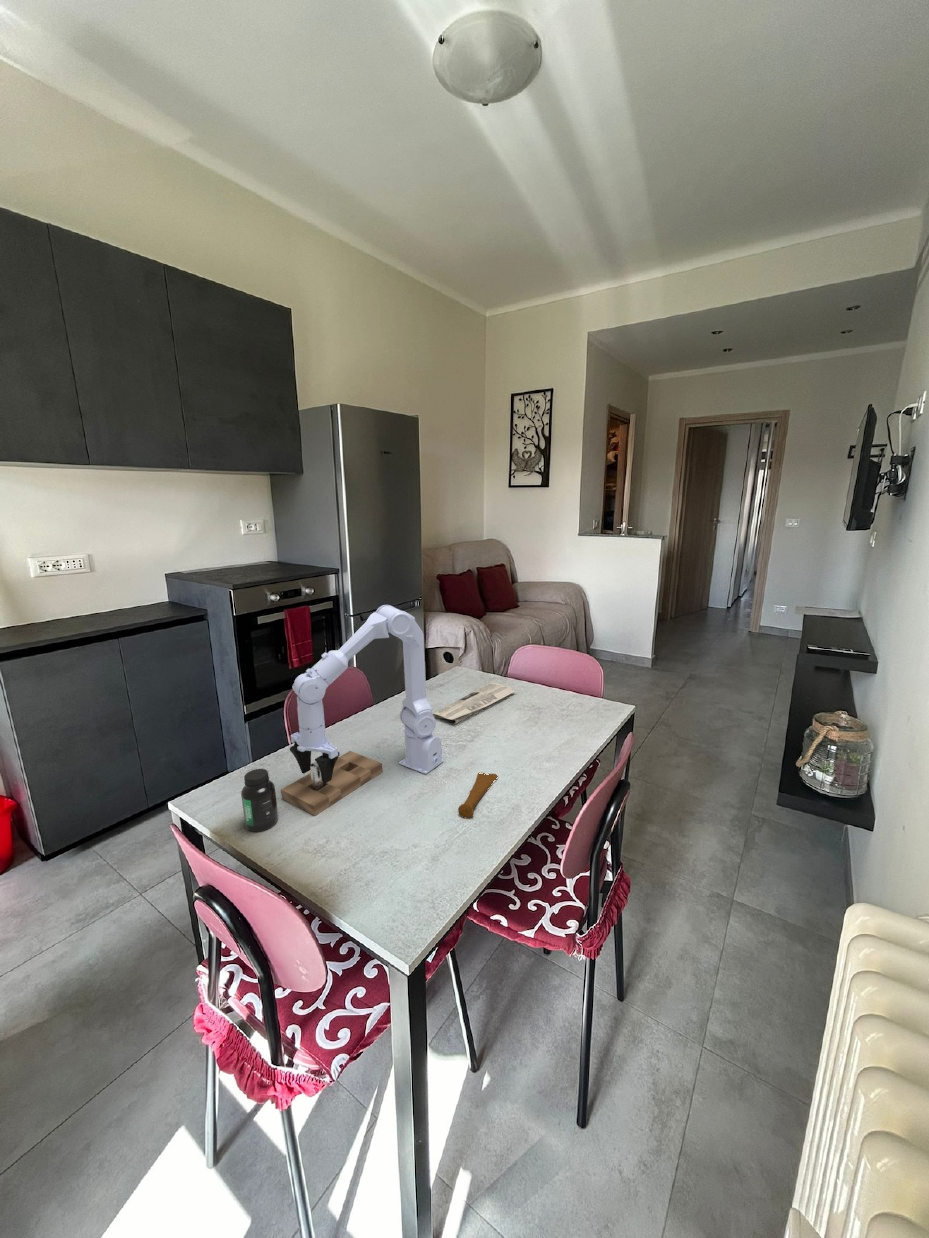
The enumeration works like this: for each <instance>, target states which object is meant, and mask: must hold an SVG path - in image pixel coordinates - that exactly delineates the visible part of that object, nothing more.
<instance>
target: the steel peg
mask: <svg viewBox="0 0 929 1238" xmlns="http://www.w3.org/2000/svg"><path fill="white" fill-rule="evenodd" d="M310 769H311V770H310V773H311V780H312V789H313V790H315V791H318V790H320V789H321V788H323V787H324V786H323V781H322V778H321V772H320V769H319V766H318V764H317V762H316V761H314V762H311V765H310Z"/></svg>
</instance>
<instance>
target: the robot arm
mask: <svg viewBox="0 0 929 1238" xmlns="http://www.w3.org/2000/svg"><path fill="white" fill-rule="evenodd" d="M359 627H360V628H358V630H356V632H354V633H353V635H352V636H350V638H349V639H348V640H347V641H346V642H345V643H344V644H343V645H342V646H341V647H340V648H339V649H338V650H337V649H335V650H333V649H332V650H329V651H328V652H325V651H324V653H322V654H321V658H320V660H319V661H318V662H316V663H315V664H314V665H313V666H312V667H311V668H307V669H306V670H305V672H304V673H301V674H300V675H298V676H297V677H295V680H294V681H293V682H294V683H293V684H292V690H293V692H294V694H295V695H297V696H296V703H297V707H296V711H297V718H298V719H297V720H298V730H299V732H298V731H297V732H295V733H292V734H291V735H290V740H291V741H290V743H292V744H293V745H292V746H290V747H289V751H290V752H291V754H292V755H293V756H294V758H295V760H296V761H297V764H298V767H299V770H300V771H301V773H302V774H303V775H304V774H306V773H308V772H309V771H310V772H311V769H310V765H311V764H312V752H316V753H321V754H322V755H320V756H318V757H315V758H314V762H317V764H318V766H319V769H320V772H321V778H322V781H323V783H327V782H329V781H330V780H331V779H332V774H333V769H334V766H335V763H336V761H337V759H338V757H340V756H341V755H340V751H339V749H338V747H336V746H335V745H333V744H332V743H331V742H330V740H329V739H328V738H327V736H326V725H325V723H326V722H325V713H324V711H325V710H324V703H323V698H324V697H325V694H326V691H327V688H328V687H329V686H330V685H331V684H332V683H333V682H334V681H335V680H336V679H338V678H339V677H340V676H341V675H342V674H343V673H344V672H345V671H346V670H347V669H348V667H349V661H350V660H351V659H352V658H354V657H355V655H357V654H358V653H359V652H360V651H362V650H363V649H364V648H365V647H366V646H367V645H368V644H370V643H371V642H372V641H373V640H376V639H389V638H390V635H389V634H391V635H393V636H394V637H397V638H398V639H400V640H401V641H402V650H403V651H402V652H403V655H402V656H403V668H404V669H403V672H404V687H405V688H404V689H405V698H404V699H403V700H402V707H401V710H400V713H399V720H400V721H401V724H403V725H404V731H403V732H404V750H405V757H404V758H403V759H402V760H400V761H399V762H398V765H401V766H403V767H406V768H409V769H411V770H413V771H417V772H419V773H421V774H425V775H427V774H428V773H430V772H431V771H433V770H434V769H435V768H436V767H437V766H439V765H440V764H443V762H444V761H445V759H443V757H442V756H443V755H442V754H443V753H442V752H443V751H442V748H443V747H442V740H441V738H440V737H439V736H437V735H435V734H434V731H435V728H436V724H437V721H436V718H434V717H433V709H432V706H431V704H430V702H429V701H428V699H427V684H426V683H427V682H426V681H427V680H426V661H425V660H426V659H425V658H426V657H425V639H424V638H425V637H424V636H425V635H424V632H423V630H422V629H421V627H420V626H419V624H418V623H417V621H416V617H415V616H413V615H412V614H411V613H408V612H406V611H404V610H400V609H399V608H396V607H395V606H393V605H390V604H383V605H381V606H379V607H378V608H377V609H376V611H374V612H373V613H372V612H371V614H370V615H369V616H368V618H367V620H366V621H365V623H364V624H362V625H361V626H359Z"/></svg>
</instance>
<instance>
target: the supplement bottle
mask: <svg viewBox="0 0 929 1238" xmlns="http://www.w3.org/2000/svg"><path fill="white" fill-rule="evenodd" d="M243 777H244V786H243V788H242V789H241V791H240V795H241V803H242V805H241V806H242V811H243V818H244V824H245V828H246V829H247V831H250V832H255V833H258V832H263V831H264V832H265V831H267V830H269V829H271V828H273V827H274V826H275V825H276V824H277V822H278V820H279V812H278V804H277V803H278V802H277V795H276V788H275V787H276V786H275V783H274V782H273V781H272V780H270V776H269V772H268V770H267V769H265V768H256V769H252V770H249V771H248V772H246V773H245V774H244V776H243Z"/></svg>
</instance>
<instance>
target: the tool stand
mask: <svg viewBox="0 0 929 1238" xmlns="http://www.w3.org/2000/svg"><path fill="white" fill-rule="evenodd" d="M383 772H384V771H383V763H382V762H381V761H378V760H377V761H376V760H375V759H373V758H369V757H367V756H364V755H362V754H359V753H356V752H355V751H351V750H349V751H346V752H345V753H343V754H342V755H339V757H338V759H337V761H336V763H335V766H334V769H333V774H332V779H331V780H330V781H329V782H327V783H323V786H324V787H323V788H321V789H320V790H318V791H315V790H313V789H312V780H311V772H309V773H308V774H306V775H304V776H302V777H301V778H299V779H298V780H295V781H294V782H292V783H290V784H289V785H286V786H285V787H283V788H281V789H280V793H281V794H280V796H281V799H282V800H283V801H285V802H286V803H287V802H288V803H290V804H291V805H293V806H295V807H297V808H299V809H301V810H303V811H304V812H307V813H308V814H310V815H312V816H314V817H315V816H318V814H320V813H322V812H323V811H324V810H327V809H329V808H330V807H331V806H333V805H334V804H336V803H337V802H339V801H340V800H342V799H343V798H346V797H347V796H348V795H350V794H351V793H353V792H354V791H356V790H357V789H358V788H360V787H361V786H364V785H365V784H366V783H368V782H370V781H371V780H372V779H374V778H376V777H377V776H378V775H380V774H382V773H383Z"/></svg>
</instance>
